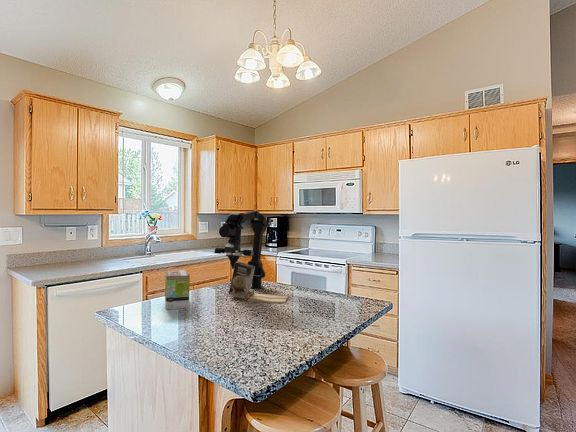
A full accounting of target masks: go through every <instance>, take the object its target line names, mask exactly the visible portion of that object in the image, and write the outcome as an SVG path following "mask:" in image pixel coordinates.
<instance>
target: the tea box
mask: <svg viewBox="0 0 576 432" xmlns="http://www.w3.org/2000/svg"><path fill="white" fill-rule="evenodd" d="M190 277H191V276H190V274H189V272H188V270H187V269H186V270H185V269H184V270H183V269H181V270H180V269H179V270H166V271H165V283H164V284H165V287H164V288H165V289H164V293H165V294H164V299H165V301H164V302H165V310H176V309H177V310H179V309H187V308H189V307H190V283H191V282H190V279H191V278H190Z"/></svg>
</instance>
